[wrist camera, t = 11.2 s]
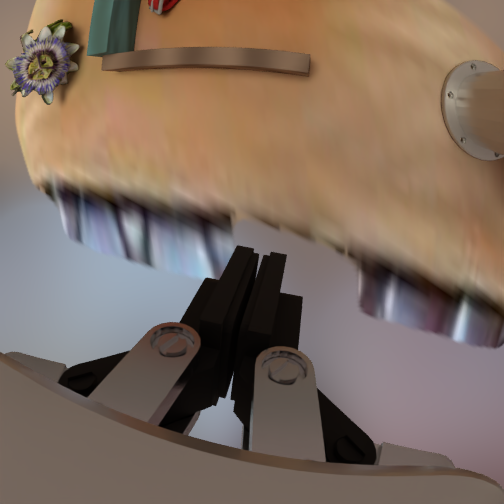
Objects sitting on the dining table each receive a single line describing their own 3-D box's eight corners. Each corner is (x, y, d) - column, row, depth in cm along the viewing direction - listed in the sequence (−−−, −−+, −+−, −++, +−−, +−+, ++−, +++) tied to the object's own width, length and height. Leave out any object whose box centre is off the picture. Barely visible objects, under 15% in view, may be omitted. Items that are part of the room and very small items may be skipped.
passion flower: (97, 67, 38) (57, 114, 32) (46, 67, 36) (5, 112, 31) (91, 7, 27) (40, 46, 22) (36, 13, 26) (-16, 54, 21)
